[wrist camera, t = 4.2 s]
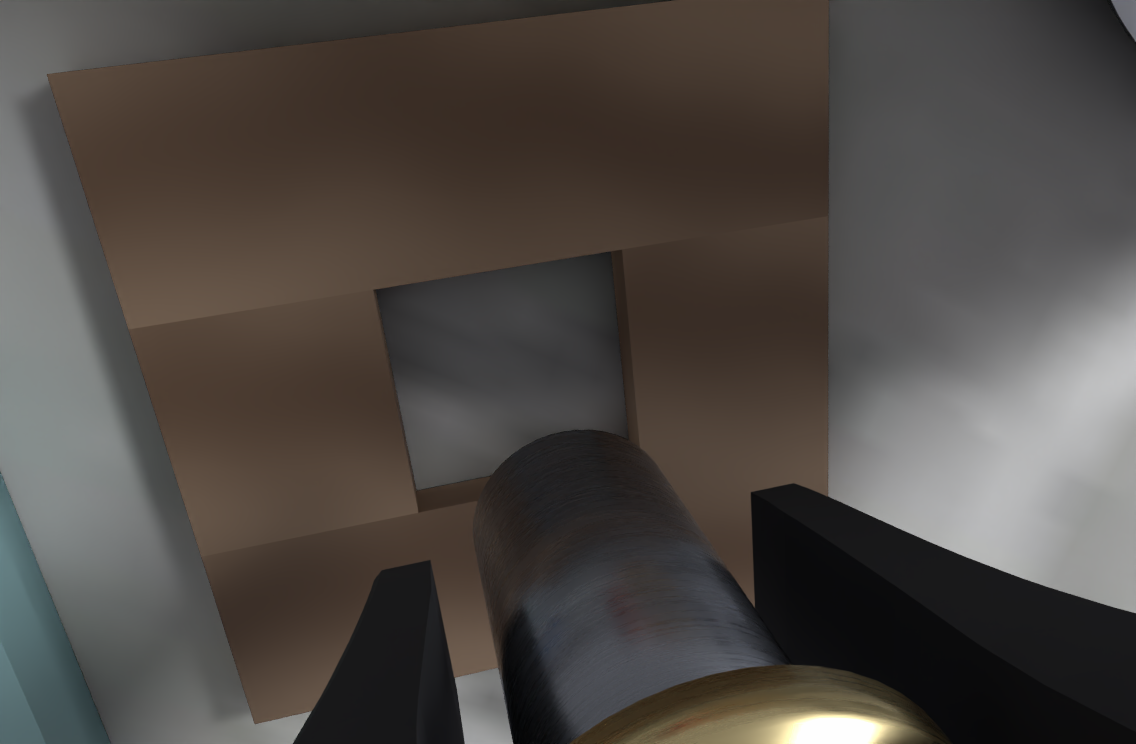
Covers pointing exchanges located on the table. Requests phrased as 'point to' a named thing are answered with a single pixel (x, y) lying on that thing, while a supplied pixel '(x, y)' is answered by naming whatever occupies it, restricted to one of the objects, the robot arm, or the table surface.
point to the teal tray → (36, 653)
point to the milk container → (1125, 15)
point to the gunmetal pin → (644, 618)
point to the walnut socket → (447, 249)
